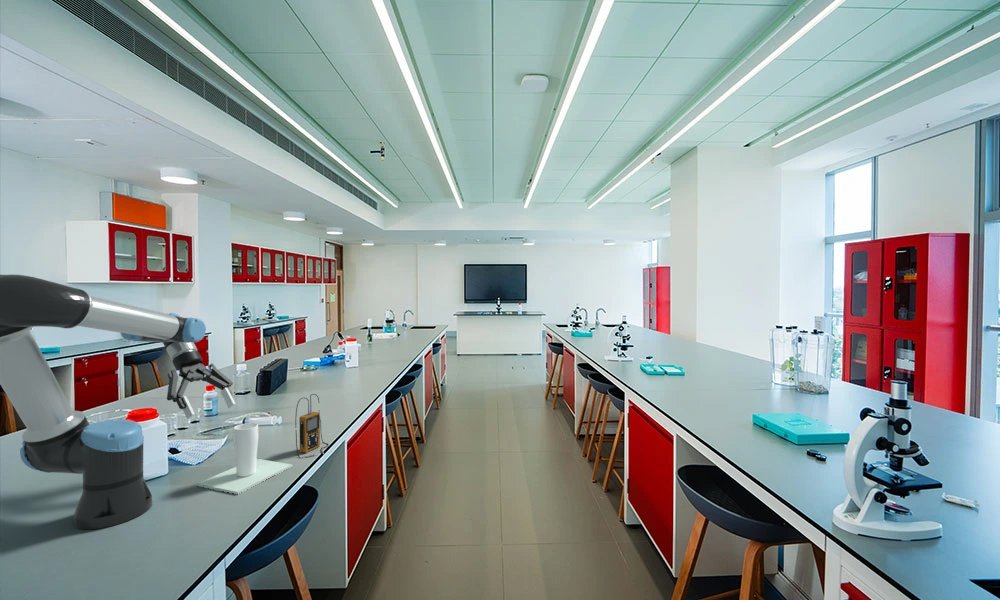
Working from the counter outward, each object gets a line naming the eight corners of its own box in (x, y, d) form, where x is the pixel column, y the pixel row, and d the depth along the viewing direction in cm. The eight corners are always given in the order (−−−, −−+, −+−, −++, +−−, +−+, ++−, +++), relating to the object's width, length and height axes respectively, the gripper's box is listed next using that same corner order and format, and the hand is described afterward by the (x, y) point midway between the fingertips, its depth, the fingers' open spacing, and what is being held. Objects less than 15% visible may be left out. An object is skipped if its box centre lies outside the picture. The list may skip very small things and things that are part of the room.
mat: (237, 494, 121) (237, 491, 121) (197, 486, 126) (197, 483, 126) (292, 467, 140) (292, 464, 140) (255, 460, 145) (255, 458, 145)
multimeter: (314, 460, 146) (313, 402, 145) (291, 456, 149) (290, 400, 148) (343, 445, 159) (342, 392, 159) (321, 442, 163) (321, 390, 162)
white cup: (263, 469, 136) (263, 423, 136) (249, 479, 129) (248, 430, 129) (243, 468, 137) (243, 422, 136) (228, 478, 130) (227, 429, 130)
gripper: (214, 357, 154) (240, 407, 150) (136, 368, 130) (164, 428, 126) (227, 345, 152) (253, 396, 148) (149, 354, 128) (178, 415, 124)
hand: (212, 411), depth 137 cm, fingers open, 13 cm apart
